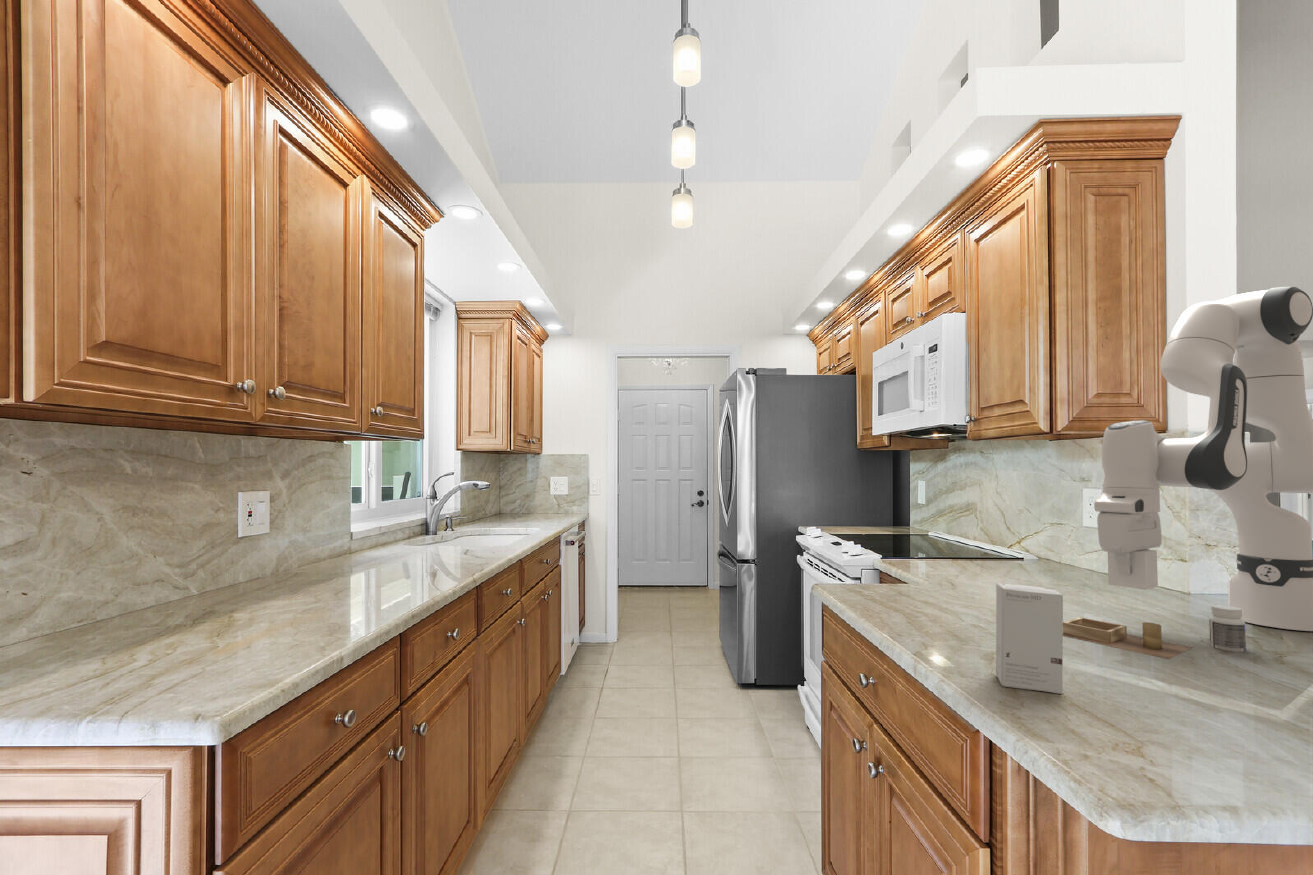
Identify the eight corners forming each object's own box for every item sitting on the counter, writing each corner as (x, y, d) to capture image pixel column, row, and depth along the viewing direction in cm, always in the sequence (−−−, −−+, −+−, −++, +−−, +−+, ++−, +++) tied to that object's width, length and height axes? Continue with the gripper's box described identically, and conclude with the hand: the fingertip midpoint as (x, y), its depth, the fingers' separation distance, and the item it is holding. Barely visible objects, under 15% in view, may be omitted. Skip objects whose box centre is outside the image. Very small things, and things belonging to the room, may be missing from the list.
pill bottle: (1254, 659, 104) (1252, 611, 105) (1222, 657, 105) (1220, 609, 106) (1233, 651, 109) (1231, 604, 109) (1203, 649, 110) (1202, 603, 110)
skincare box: (1001, 687, 91) (999, 588, 92) (995, 674, 96) (993, 581, 97) (1066, 695, 88) (1063, 593, 88) (1056, 681, 93) (1053, 585, 94)
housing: (1121, 581, 121) (1119, 546, 122) (1157, 586, 116) (1156, 550, 117) (1108, 584, 118) (1107, 548, 119) (1145, 589, 113) (1144, 552, 114)
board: (1084, 631, 122) (1084, 605, 122) (1193, 653, 107) (1192, 624, 108) (1056, 640, 115) (1056, 613, 115) (1168, 666, 101) (1167, 634, 101)
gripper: (1132, 500, 126) (1134, 566, 126) (1089, 502, 115) (1091, 575, 115) (1170, 502, 121) (1172, 571, 120) (1129, 504, 110) (1131, 580, 109)
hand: (1132, 573), depth 117 cm, fingers closed on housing, 6 cm apart
